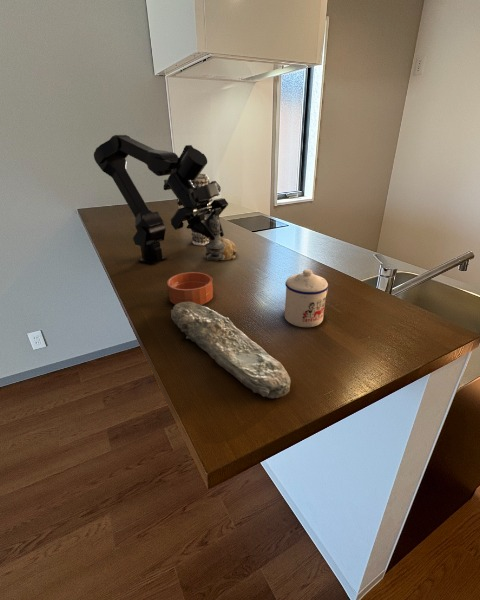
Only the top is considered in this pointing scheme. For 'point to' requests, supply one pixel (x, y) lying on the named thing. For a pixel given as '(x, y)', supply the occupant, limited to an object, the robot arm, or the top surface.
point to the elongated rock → (232, 349)
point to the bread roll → (227, 249)
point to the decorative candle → (197, 237)
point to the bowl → (190, 288)
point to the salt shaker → (215, 241)
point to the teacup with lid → (305, 299)
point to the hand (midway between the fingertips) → (218, 237)
